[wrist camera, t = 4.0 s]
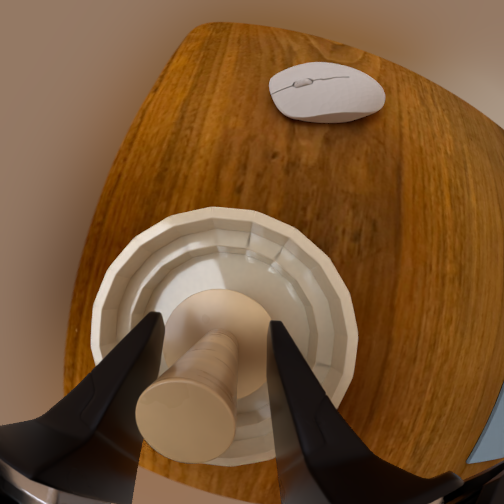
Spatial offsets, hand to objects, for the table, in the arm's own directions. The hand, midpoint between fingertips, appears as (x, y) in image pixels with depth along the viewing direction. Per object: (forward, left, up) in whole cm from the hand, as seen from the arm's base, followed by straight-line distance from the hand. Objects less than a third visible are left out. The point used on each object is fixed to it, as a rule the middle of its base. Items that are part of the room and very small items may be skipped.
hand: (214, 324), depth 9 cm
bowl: (-1, 0, -7) cm, 7 cm away
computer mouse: (+19, 0, -7) cm, 20 cm away
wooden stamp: (-1, 0, -7) cm, 7 cm away
